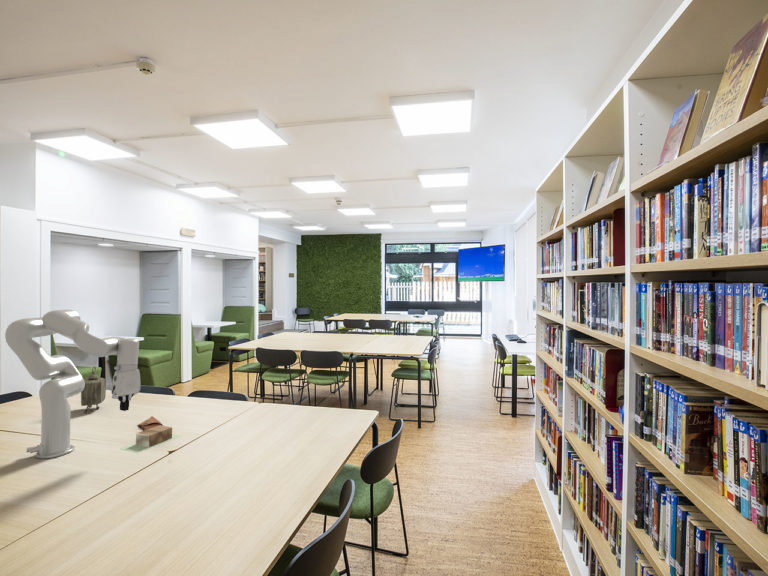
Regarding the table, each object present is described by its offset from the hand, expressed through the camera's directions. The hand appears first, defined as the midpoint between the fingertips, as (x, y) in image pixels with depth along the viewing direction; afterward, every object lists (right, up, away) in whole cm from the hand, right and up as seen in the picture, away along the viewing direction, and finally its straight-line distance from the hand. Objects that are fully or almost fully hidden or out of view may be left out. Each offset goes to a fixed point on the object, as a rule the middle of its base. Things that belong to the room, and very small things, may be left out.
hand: (124, 410), depth 168 cm
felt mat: (+5, -19, +11) cm, 22 cm away
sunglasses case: (-7, -19, +31) cm, 37 cm away
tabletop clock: (-57, -19, +59) cm, 84 cm away
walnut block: (+4, -16, +7) cm, 17 cm away
